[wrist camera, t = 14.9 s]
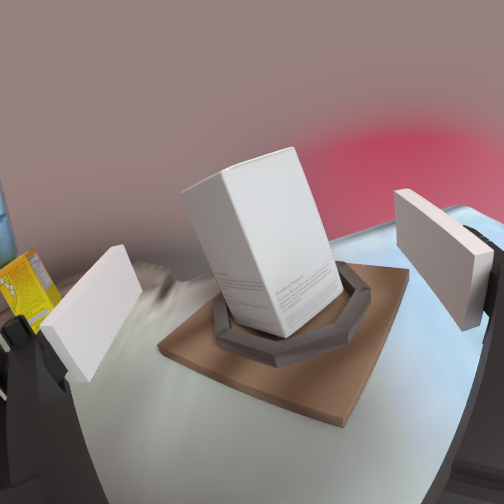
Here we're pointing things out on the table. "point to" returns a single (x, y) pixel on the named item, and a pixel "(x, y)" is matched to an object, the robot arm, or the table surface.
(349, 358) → the mount plate
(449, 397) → the table surface
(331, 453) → the table surface
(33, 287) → the supplement box
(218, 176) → the supplement box
